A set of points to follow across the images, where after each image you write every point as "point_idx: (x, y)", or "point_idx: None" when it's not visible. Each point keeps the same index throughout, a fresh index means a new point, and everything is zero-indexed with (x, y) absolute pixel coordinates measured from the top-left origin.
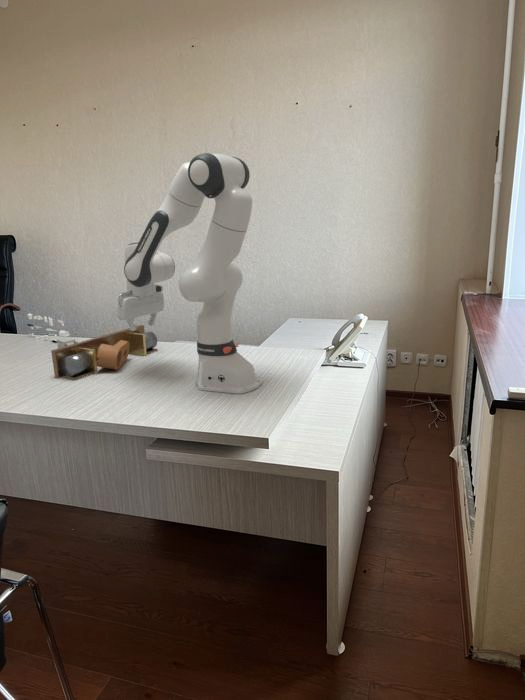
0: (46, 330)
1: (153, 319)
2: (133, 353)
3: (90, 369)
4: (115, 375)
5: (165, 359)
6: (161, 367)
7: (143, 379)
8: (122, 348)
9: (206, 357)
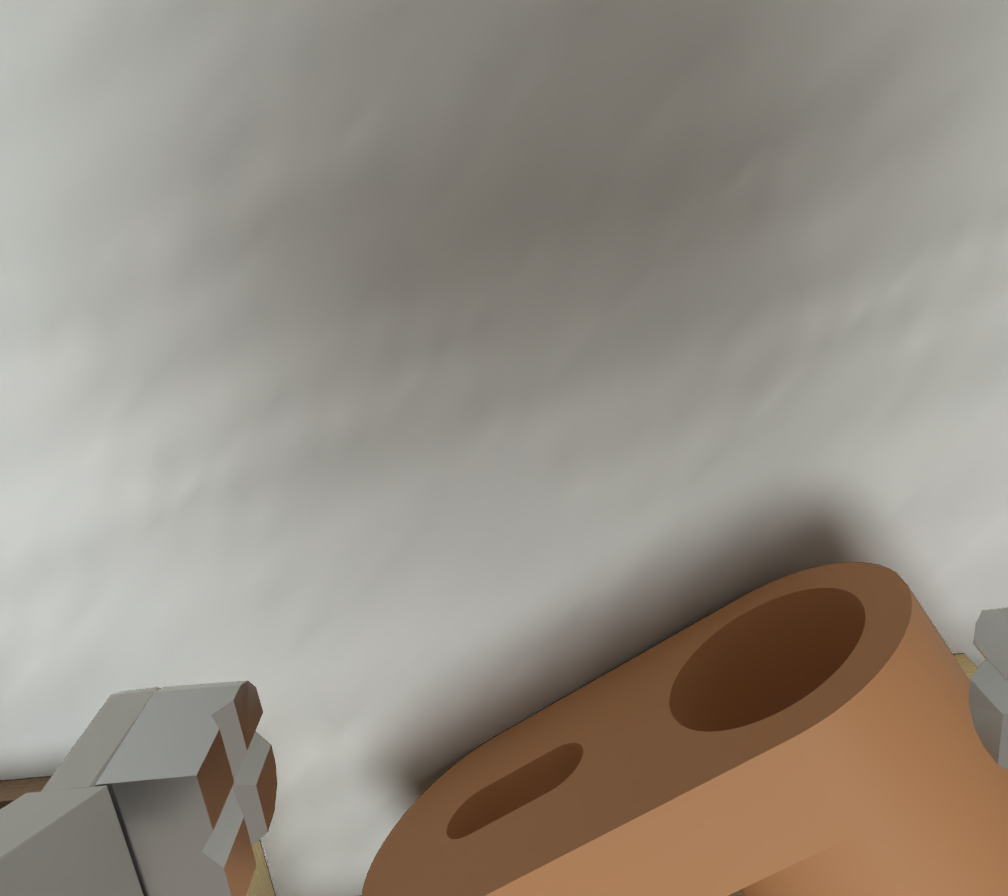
0: None
1: (79, 822)
2: (257, 870)
3: None
4: (891, 471)
5: (118, 468)
6: (376, 245)
7: (880, 34)
8: (677, 769)
9: None
